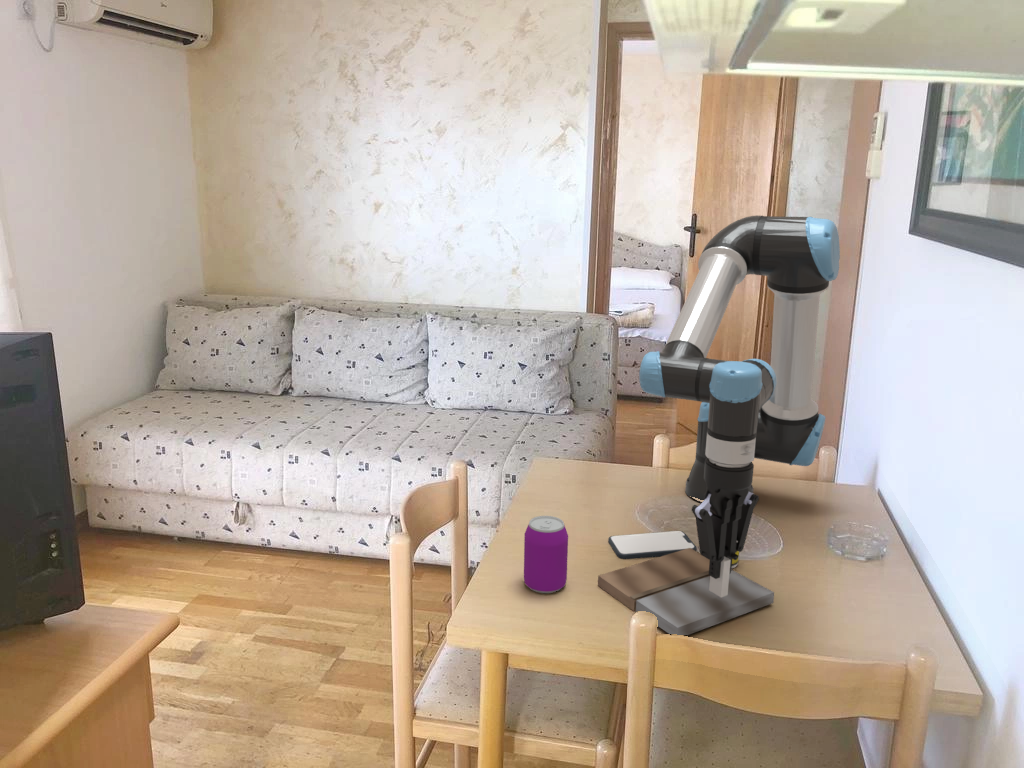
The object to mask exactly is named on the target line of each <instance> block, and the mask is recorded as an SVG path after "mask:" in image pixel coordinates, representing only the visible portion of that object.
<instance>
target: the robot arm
mask: <svg viewBox="0 0 1024 768" xmlns="http://www.w3.org/2000/svg"><path fill="white" fill-rule="evenodd" d="M840 253H841V247H840V235H839V231H838V227H837V225H836V224H835V222H834V221H833V220H831V219H829V218H819V217H813V216H772V215H771V216H766V215H750V216H746V217H743V218H739V219H737V220H735V221H733V222H732V223H729V224H728V225H727V226H725V227H724V228H722V229H721V230H720V231H718V232H717V233H716V234H715V235H714V236H713V237H712V238H711V239H710V240H709V242H707V244H706V245H705V246H704V247H703V250H702V252H701V254H700V256H699V258H698V261H697V268H698V270H699V271H698V273H697V274H696V277H695V279H694V281H693V283H692V286H691V288H690V290H689V292H688V295H687V297H686V299H685V302H684V304H683V305H682V308H681V309H680V312H679V314H678V317H677V318H676V320H675V323H674V326H673V328H672V329H671V331H670V334H669V337H668V339H667V340H666V343H665V345H664V347H663V350H662V351H659V350H657V351H649V352H647V353H646V354H644V356H643V358H642V360H641V362H640V368H639V372H638V373H639V374H638V375H639V377H638V379H639V385H640V386H639V387H640V389H641V390H642V391H643V392H644V393H646V394H649V395H653V396H654V395H655V396H656V397H657V396H658V397H661V398H670V399H678V400H679V399H680V400H686V401H694V402H701V403H700V406H699V411H698V417H697V431H696V432H697V433H696V447H695V458H694V463H693V465H692V467H691V469H690V472H689V475H688V476H687V478H686V481H685V489H684V491H685V494H686V495H687V496H688V497H689V496H691V497H695V498H698V499H700V500H704V501H703V502H702V503H701V502H700V504H699V505H697V504H694V505H692V506H691V513H693V516H694V518H695V522H696V523H695V524H696V531H697V538H698V539H697V540H698V547H699V553H700V554H701V555H702V556H704V557H706V558H707V559H709V560H710V563H709V575H710V587H709V590H710V591H711V592H713V593H714V594H716V595H718V596H719V597H724V596H727V595H728V584H729V574H730V573H731V570H733V568H731V567H732V559H734V560H737V559H738V560H739V558H738V557H740V555H739V556H738V555H737V554H735V553H736V552H737V551H739V553H741V552H742V551H743V550H744V547H745V543H746V539H747V535H748V532H749V528H750V525H751V524H750V523H751V521H752V517H753V513H754V509H755V507H756V506H757V503H758V502H759V500H760V496H759V495H758V494H756V493H754V486H753V480H754V479H753V477H754V468H755V465H754V463H753V461H754V460H755V459H756V460H757V459H758V460H763V461H770V462H774V463H781V464H787V465H789V466H801V467H808V466H810V465H812V464H813V463H814V461H815V458H816V456H817V452H818V450H819V445H820V443H821V439H822V435H823V431H824V428H825V424H826V416H825V415H824V414H821V413H819V405H818V403H817V402H816V401H815V400H814V399H813V396H812V395H813V386H814V372H815V359H816V348H817V347H816V346H817V345H816V344H817V332H818V322H819V321H818V320H819V307H820V297H821V295H822V294H823V293H824V292H825V291H826V290H828V288H829V287H830V282H832V281H834V280H836V279H837V278H838V275H839V270H840V259H841V255H840ZM748 275H755V276H765V277H767V281H766V284H767V285H766V286H767V288H768V289H769V290H770V291H772V293H773V294H774V296H773V297H774V299H773V312H772V313H773V317H772V318H773V319H772V333H771V335H772V336H771V337H772V338H771V350H770V352H771V353H770V354H771V356H770V364H769V362H766V361H765V360H763V359H760V358H749V359H744V360H742V361H739V360H738V361H736V360H724V359H723V360H722V359H715V358H707V356H708V353H709V351H710V349H711V346H712V344H713V342H714V340H715V337H716V335H717V332H718V329H719V327H720V324H721V322H722V320H723V318H724V315H725V313H726V311H727V308H728V305H729V303H730V301H731V298H732V296H733V293H734V291H735V288H736V286H738V285H739V284H741V283H742V282H743V281H744V280H745V278H746V276H748ZM736 540H737V541H738V543H737V542H736Z"/></svg>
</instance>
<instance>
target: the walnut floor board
mask: <svg viewBox="0 0 1024 768" xmlns="http://www.w3.org/2000/svg"><path fill="white" fill-rule="evenodd" d="M709 563H710V560H709V559H707V558H706V557H704V556H702V555H701V554H700V552H698V551H697V552H696V551H695V550H693V549H691V548H688V549H684V550H681V551H678V552H674V553H671V554H668V555H664V556H661V557H653V558H652V559H651V558H650V559H648V560H645V561H641V562H638V563H635V564H631V565H628V566H625V567H622V568H618V569H615V570H612V571H609V572H605V573H603V574H599V575H597V577H598V578H597V586H598V587H599V588H601V589H602V590H603V591H605V592H606V593H607V594H609V595H610V596H611V597H613V598H615V599H616V600H617V601H618V602H620V603H621V604H623V605H624V606H625V607H629V608H628V609H630V610H631V611H633V612H636V600H639V599H642V598H645V597H648V596H651V595H654V594H657V593H660V592H663V591H666V590H669V589H672V588H675V587H678V586H681V585H684V584H687V583H690V582H693V581H696V580H699V579H702V578H705V577H708V576H710V575H709Z"/></svg>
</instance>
